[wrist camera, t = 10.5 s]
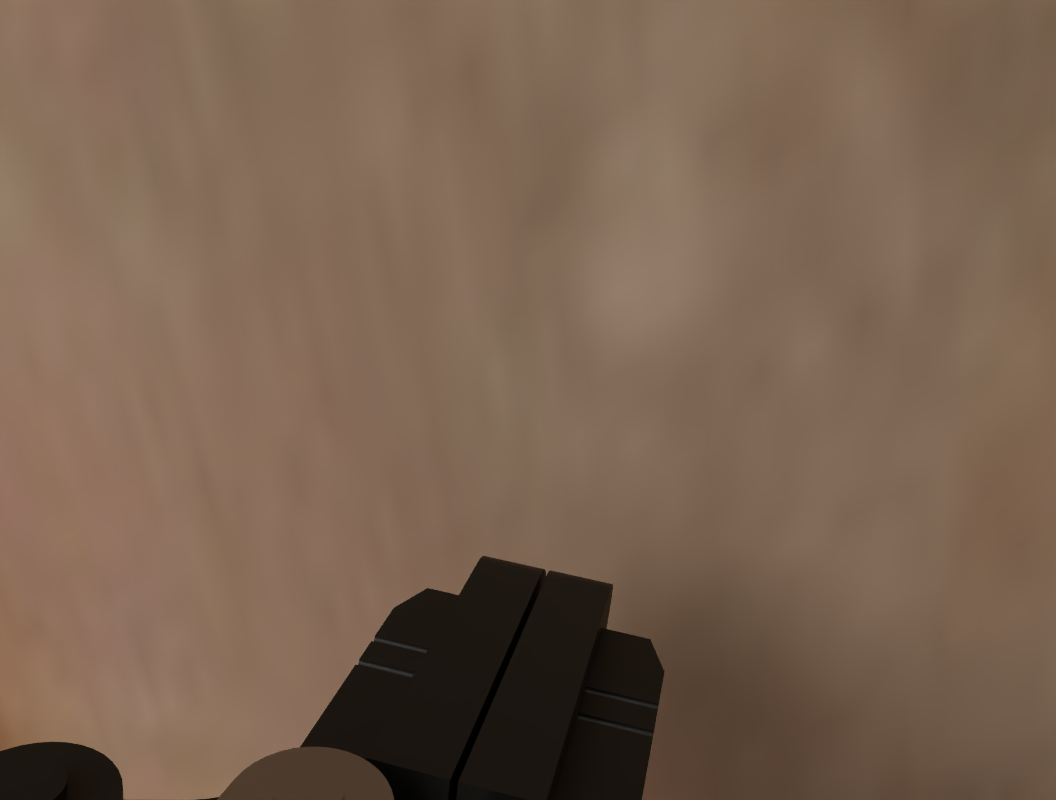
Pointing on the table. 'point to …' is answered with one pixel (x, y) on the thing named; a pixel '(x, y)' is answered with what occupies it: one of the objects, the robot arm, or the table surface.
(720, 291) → the table surface
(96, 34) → the table surface
